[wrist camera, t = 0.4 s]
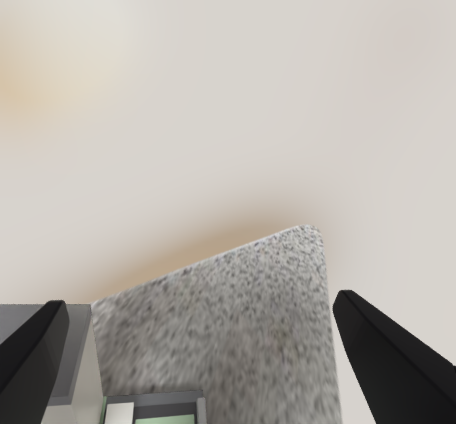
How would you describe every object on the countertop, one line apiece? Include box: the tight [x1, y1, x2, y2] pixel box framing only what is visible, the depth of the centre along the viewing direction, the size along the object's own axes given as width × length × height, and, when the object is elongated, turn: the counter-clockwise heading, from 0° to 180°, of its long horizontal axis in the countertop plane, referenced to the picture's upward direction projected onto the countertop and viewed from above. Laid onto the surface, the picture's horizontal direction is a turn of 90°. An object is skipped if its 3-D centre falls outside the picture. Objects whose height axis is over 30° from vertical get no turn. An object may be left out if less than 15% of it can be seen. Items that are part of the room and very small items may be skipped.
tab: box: [0, 304, 103, 424], centre depth 14 cm, size 4×4×11 cm
